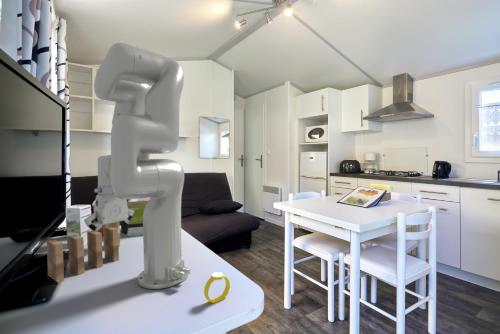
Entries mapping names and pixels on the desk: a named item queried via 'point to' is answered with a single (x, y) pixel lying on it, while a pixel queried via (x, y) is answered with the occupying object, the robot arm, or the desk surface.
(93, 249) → the tile
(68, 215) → the syrup box
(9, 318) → the desk surface
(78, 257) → the tile
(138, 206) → the tea box
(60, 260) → the wooden domino block
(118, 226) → the tile
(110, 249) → the tile
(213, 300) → the gold ring
